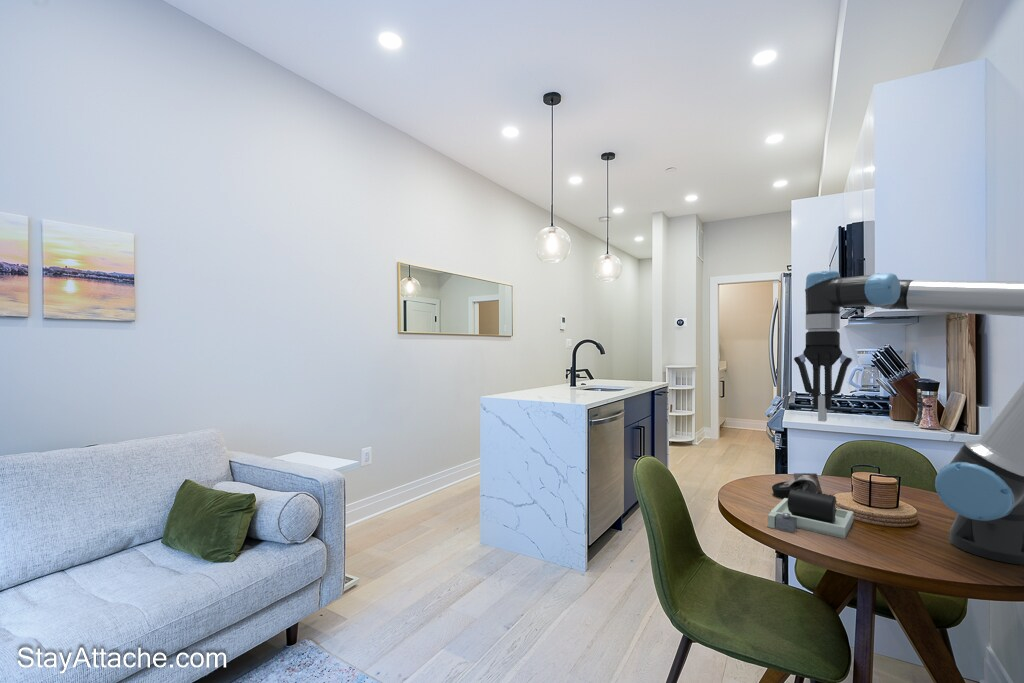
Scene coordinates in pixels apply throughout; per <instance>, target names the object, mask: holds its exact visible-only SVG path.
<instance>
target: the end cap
mask: <svg viewBox="0 0 1024 683" xmlns="http://www.w3.org/2000/svg"><path fill="white" fill-rule="evenodd" d="M787 499H788V510H789V512H791V514H792V515H796V516H800V517H805V518H809V519H814V520H818V521H822V522H827V523H831V524H833V523H834V522H835V520H836V518H835V513H836V511H837V510H836V508H837V507H836V504H837V502H838V501H837V497H836V496H835V495H833V494H827V493H823V494H821V495H819V494H814V493H809V491H807V490H802V489H797V490H793V489H791V490H790V492H789V495H788V498H787Z"/></svg>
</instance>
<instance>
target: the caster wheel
mask: <svg viewBox="0 0 1024 683" xmlns="http://www.w3.org/2000/svg"><path fill="white" fill-rule="evenodd" d="M792 475H793V477H794V479H789V480H787V481H780V482H777V483H775V484H773V485H771V486H772V487H771V490H772V492H773V495H774V496H775V497H776V498H780V499H784V498H787V499H788V495H789V492H790V490H791V489H793V490H797V489H802V490H807V491H809V493H814V494H819V495H821V494H824V493H823V491H822V487H821V484H820V481H819V477H818V474H817V473H815V472H814V473H813V472H812V473H809V472H808V473H806V472H803V473H802V472H800V473H799V472H797V473H796V472H794V473H792Z"/></svg>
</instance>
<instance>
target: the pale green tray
mask: <svg viewBox="0 0 1024 683" xmlns="http://www.w3.org/2000/svg"><path fill="white" fill-rule="evenodd" d="M835 508H836V510H837V511H836V513H835V518H836V520H835V522H834V523H833V524H831V523H827V522H822V521H818V520H814V519H809V518H805V517H800V516H796V515H792V514H791V512H789V510H788V498H782V499H781V501H780V502H779V503H778V504H777V505H776V506H774V508H772V509H771V511H770V512H769V513H768V514H767V527H768V528H770V529H776V516H777V515H778V514H782V515H783V513H788V514H790V516H791V517H796V518H797V529H800V530H806V531H810V532H814V533H818V534H822V535H827V536H830V537H837V538H840V539H845V540H846V537H847V535H848V533H849V531H850V529H851V527H852V525H853V523H854V511H852V510H847V509H842V508H837V507H835Z"/></svg>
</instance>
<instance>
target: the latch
mask: <svg viewBox="0 0 1024 683" xmlns="http://www.w3.org/2000/svg"><path fill="white" fill-rule="evenodd" d="M775 529H776V530H779V531H783V532H786V533H787V532H788V533H792V534H795V532H796V531H797V530H798V528H797V518H796V517H791V516H790V514H788V513H783V515H782V514H778V515H777V516H776V527H775Z"/></svg>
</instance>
